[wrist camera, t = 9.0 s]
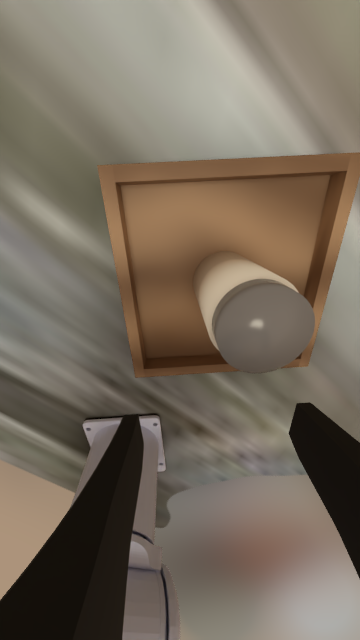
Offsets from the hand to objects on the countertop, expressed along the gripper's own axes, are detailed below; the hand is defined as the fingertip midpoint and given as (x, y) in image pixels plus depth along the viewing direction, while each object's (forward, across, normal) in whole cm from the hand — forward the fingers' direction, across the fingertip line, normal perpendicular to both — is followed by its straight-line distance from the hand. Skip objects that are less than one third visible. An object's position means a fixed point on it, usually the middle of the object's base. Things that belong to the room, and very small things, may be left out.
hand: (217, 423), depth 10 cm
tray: (+9, -2, -4) cm, 10 cm away
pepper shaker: (+9, -2, -4) cm, 10 cm away
